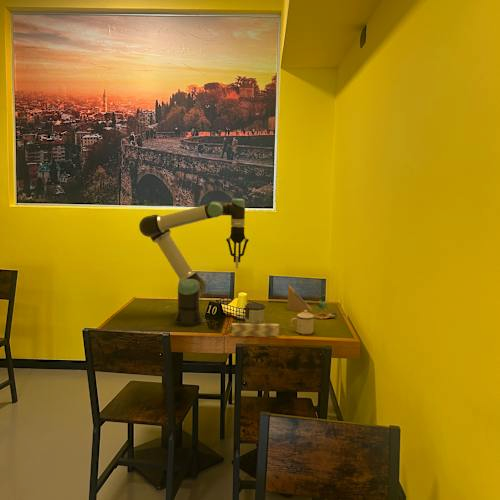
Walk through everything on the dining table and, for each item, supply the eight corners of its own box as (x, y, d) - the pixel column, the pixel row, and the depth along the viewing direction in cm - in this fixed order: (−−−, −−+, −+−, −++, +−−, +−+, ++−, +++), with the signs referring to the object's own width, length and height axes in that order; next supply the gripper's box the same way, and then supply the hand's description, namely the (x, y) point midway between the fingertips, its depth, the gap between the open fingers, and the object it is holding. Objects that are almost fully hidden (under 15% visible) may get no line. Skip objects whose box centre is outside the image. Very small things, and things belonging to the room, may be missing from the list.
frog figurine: (338, 321, 269) (337, 296, 267) (307, 321, 273) (305, 297, 271) (339, 316, 278) (337, 292, 277) (309, 317, 283) (307, 293, 281)
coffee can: (240, 332, 244) (241, 305, 243) (252, 327, 253) (253, 302, 251) (256, 336, 238) (257, 309, 236) (268, 331, 246) (269, 305, 244)
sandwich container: (312, 311, 289) (313, 287, 287) (287, 310, 289) (288, 286, 287) (311, 308, 297) (312, 284, 295) (287, 307, 298) (288, 284, 296)
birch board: (231, 336, 237) (231, 324, 236) (231, 334, 240) (231, 323, 239) (278, 337, 238) (279, 325, 237) (278, 335, 241) (278, 323, 240)
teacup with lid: (313, 330, 251) (314, 308, 249) (313, 335, 242) (314, 313, 240) (290, 328, 252) (291, 307, 251) (290, 334, 243) (291, 312, 242)
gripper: (225, 226, 258) (225, 269, 261) (249, 227, 258) (248, 269, 261) (226, 225, 265) (225, 266, 268) (249, 226, 266) (248, 267, 269)
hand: (236, 268), depth 265 cm, fingers closed
